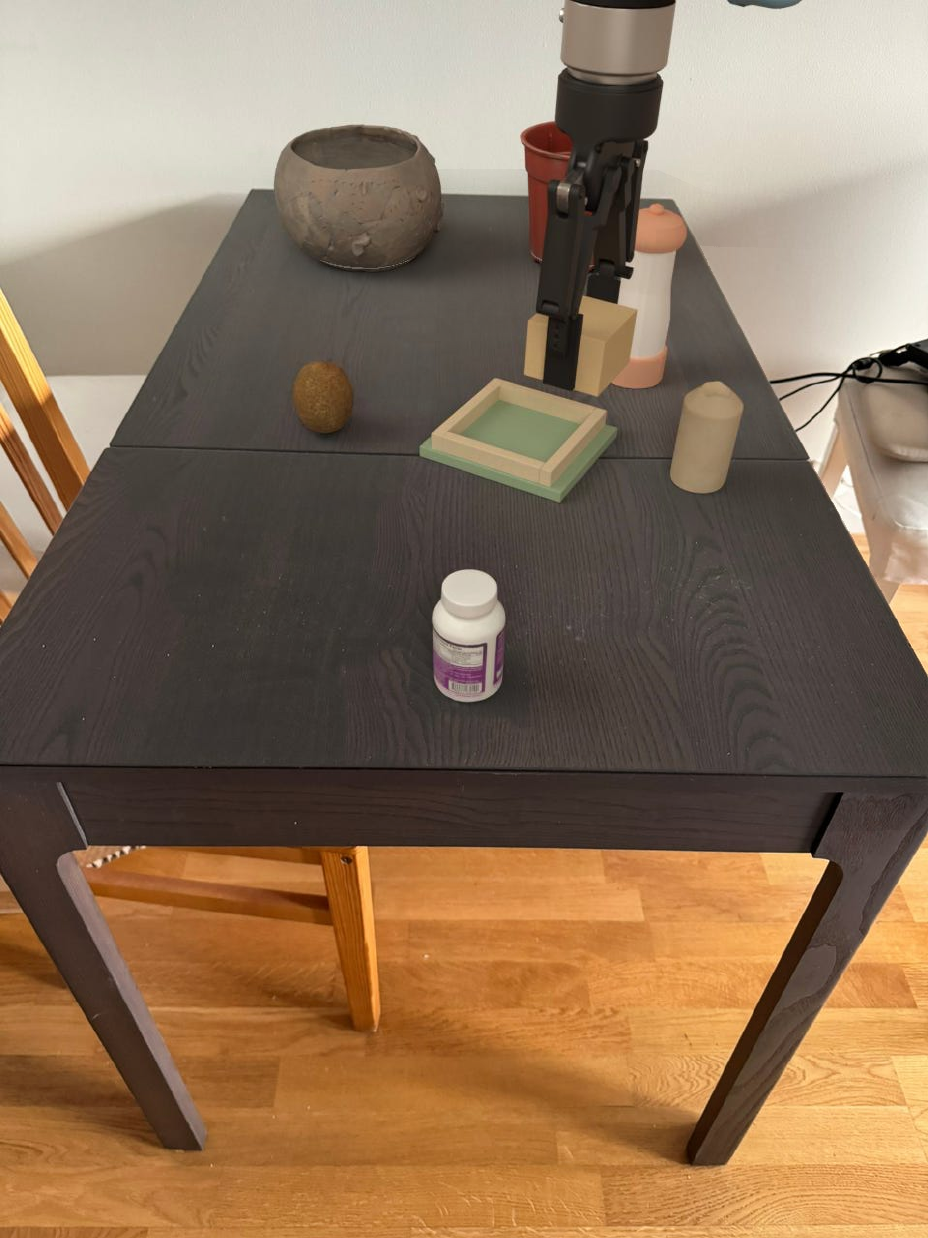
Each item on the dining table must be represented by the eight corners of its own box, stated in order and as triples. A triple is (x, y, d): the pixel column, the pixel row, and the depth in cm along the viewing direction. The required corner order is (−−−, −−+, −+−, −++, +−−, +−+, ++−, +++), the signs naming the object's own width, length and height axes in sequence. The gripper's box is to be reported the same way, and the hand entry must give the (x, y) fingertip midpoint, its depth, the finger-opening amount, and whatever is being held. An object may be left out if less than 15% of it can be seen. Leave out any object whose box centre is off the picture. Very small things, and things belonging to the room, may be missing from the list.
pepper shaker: (675, 379, 108) (707, 209, 95) (626, 394, 105) (652, 221, 92) (636, 353, 113) (661, 188, 100) (588, 367, 110) (607, 199, 97)
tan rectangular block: (629, 362, 83) (637, 309, 79) (597, 397, 78) (605, 341, 75) (558, 342, 85) (563, 290, 82) (523, 374, 80) (527, 320, 77)
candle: (729, 494, 91) (752, 404, 84) (673, 493, 91) (692, 402, 84) (719, 463, 95) (740, 374, 88) (665, 462, 95) (682, 373, 88)
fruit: (342, 451, 96) (336, 381, 90) (287, 441, 97) (278, 371, 92) (364, 421, 100) (360, 352, 95) (311, 412, 102) (304, 343, 96)
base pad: (616, 437, 99) (620, 412, 97) (559, 503, 90) (562, 477, 88) (485, 397, 104) (485, 373, 102) (419, 456, 95) (418, 430, 93)
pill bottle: (468, 645, 75) (470, 552, 68) (516, 680, 72) (523, 586, 66) (418, 679, 72) (416, 585, 66) (466, 716, 69) (469, 622, 63)
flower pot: (555, 289, 126) (566, 163, 115) (492, 248, 137) (497, 129, 126) (651, 266, 133) (669, 145, 122) (584, 229, 143) (595, 114, 132)
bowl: (257, 276, 128) (241, 160, 118) (312, 218, 144) (302, 112, 134) (418, 294, 125) (416, 175, 114) (457, 232, 141) (458, 124, 131)
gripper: (617, 36, 73) (585, 313, 89) (498, 93, 61) (485, 404, 76) (708, 49, 71) (659, 332, 86) (604, 111, 58) (568, 430, 74)
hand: (577, 366), depth 81 cm, fingers closed on tan rectangular block, 7 cm apart
